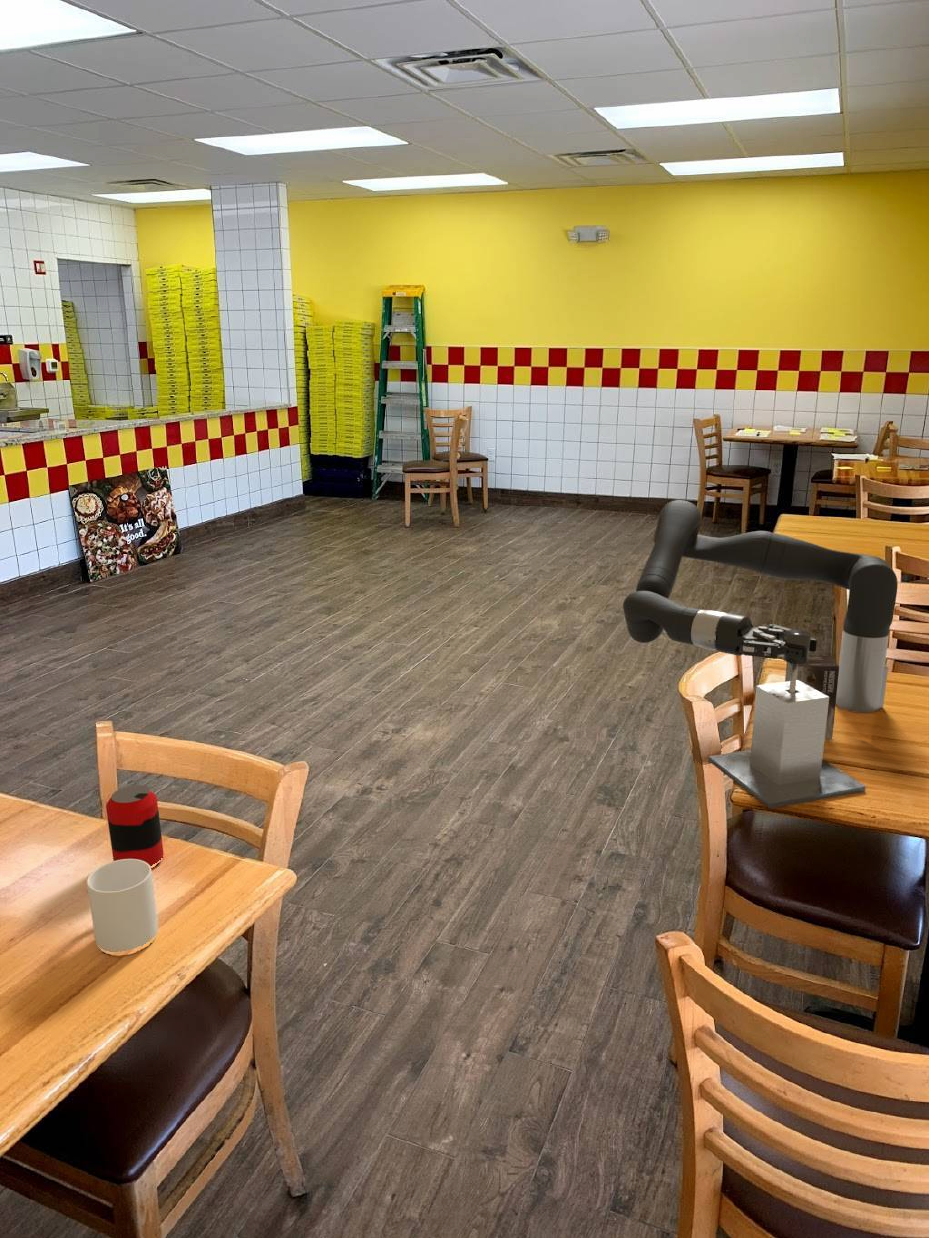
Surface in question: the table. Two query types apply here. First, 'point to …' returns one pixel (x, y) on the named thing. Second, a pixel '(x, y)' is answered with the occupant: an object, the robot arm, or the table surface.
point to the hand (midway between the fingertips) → (811, 649)
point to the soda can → (135, 825)
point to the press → (787, 750)
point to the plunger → (800, 639)
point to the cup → (122, 904)
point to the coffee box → (820, 682)
